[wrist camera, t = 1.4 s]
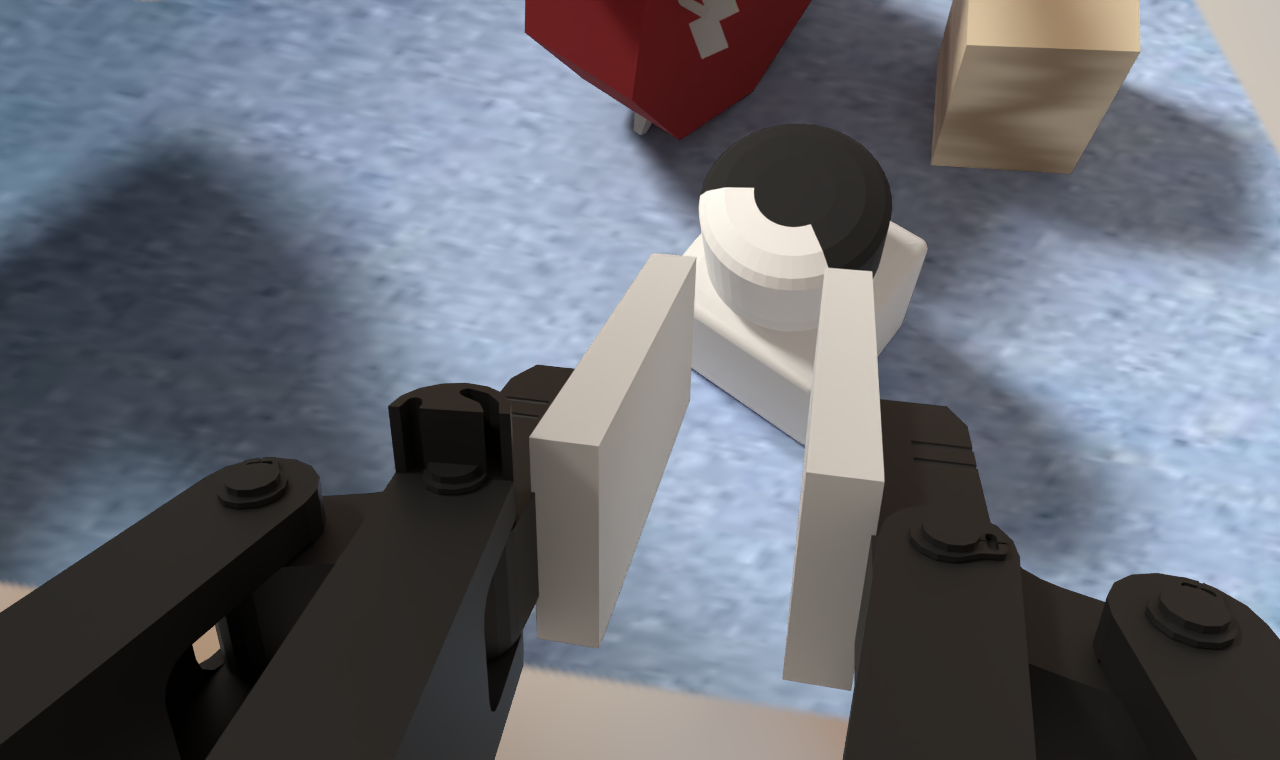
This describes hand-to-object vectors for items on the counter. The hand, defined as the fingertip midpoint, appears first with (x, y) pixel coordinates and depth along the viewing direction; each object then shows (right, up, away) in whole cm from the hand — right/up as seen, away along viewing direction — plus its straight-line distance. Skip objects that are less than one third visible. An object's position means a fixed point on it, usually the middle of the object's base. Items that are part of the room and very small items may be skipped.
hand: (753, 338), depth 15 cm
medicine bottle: (+5, +1, +24) cm, 24 cm away
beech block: (+15, +12, +26) cm, 32 cm away
